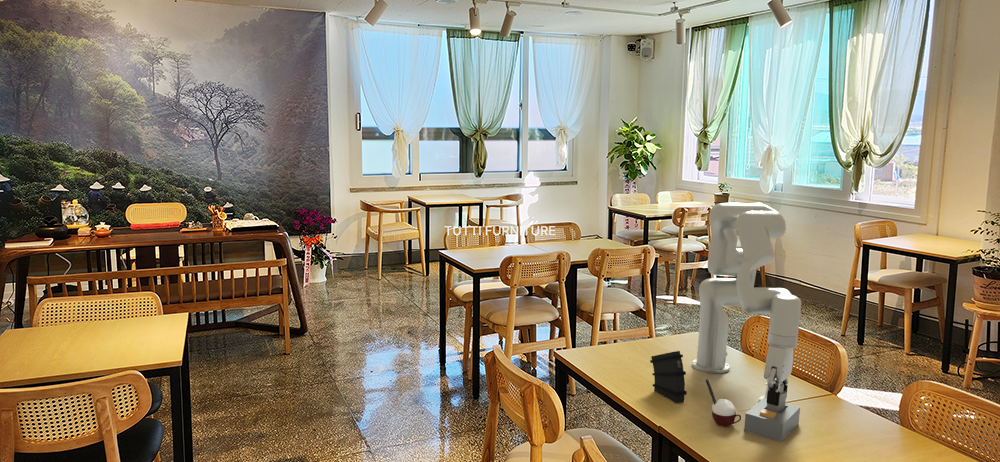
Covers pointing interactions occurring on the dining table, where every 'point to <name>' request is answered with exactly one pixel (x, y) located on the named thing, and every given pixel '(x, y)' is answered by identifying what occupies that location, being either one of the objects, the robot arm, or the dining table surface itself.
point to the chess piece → (766, 391)
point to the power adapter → (782, 401)
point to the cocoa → (722, 410)
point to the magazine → (669, 376)
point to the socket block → (771, 421)
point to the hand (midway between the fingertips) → (776, 400)
